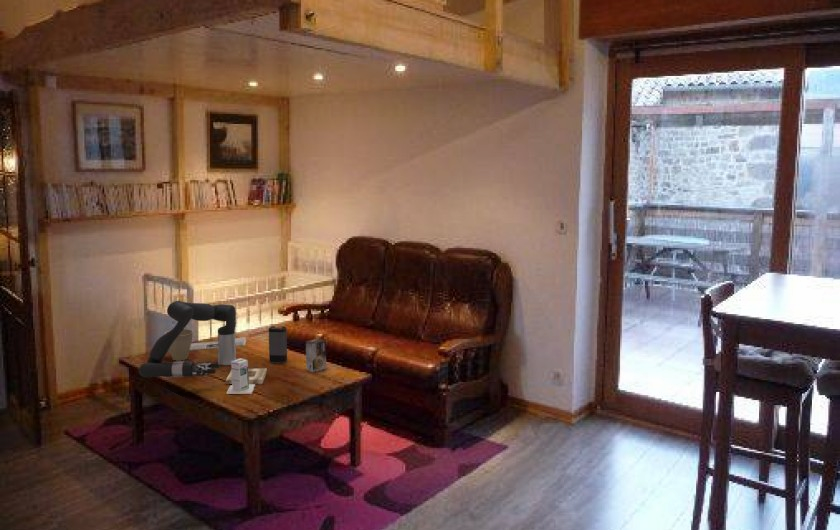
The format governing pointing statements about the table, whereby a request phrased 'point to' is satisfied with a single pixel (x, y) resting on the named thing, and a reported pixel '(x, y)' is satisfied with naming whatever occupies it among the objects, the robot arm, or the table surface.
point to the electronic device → (277, 345)
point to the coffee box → (315, 355)
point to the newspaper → (215, 344)
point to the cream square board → (257, 373)
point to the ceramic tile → (245, 391)
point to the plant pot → (181, 345)
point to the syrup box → (240, 374)
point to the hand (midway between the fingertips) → (217, 368)
